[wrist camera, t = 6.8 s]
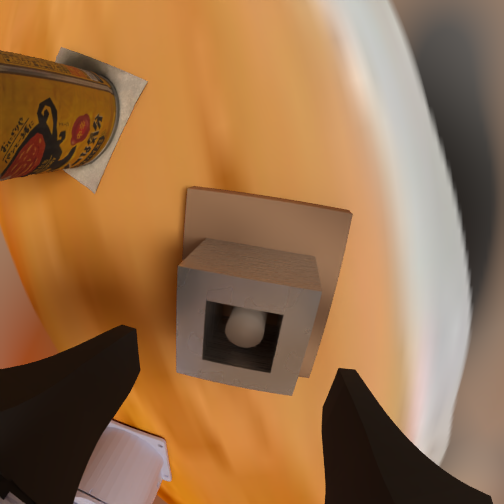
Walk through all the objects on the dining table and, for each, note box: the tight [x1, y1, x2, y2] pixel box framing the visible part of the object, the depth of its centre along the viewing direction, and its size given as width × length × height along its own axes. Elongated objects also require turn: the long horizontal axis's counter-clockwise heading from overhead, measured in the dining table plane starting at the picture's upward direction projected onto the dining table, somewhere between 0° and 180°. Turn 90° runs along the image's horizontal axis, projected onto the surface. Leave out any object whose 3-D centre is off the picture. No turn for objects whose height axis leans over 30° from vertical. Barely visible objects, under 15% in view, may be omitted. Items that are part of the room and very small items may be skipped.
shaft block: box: [182, 186, 352, 378], centre depth 14 cm, size 10×8×4 cm
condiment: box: [0, 47, 148, 194], centre depth 9 cm, size 7×8×12 cm
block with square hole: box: [176, 238, 322, 396], centre depth 13 cm, size 5×5×4 cm
